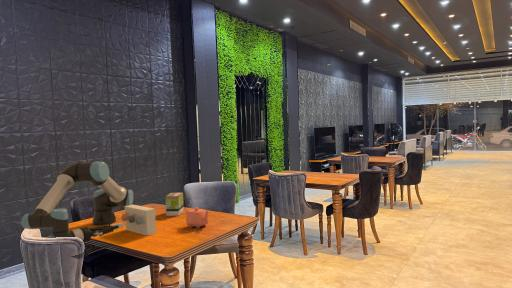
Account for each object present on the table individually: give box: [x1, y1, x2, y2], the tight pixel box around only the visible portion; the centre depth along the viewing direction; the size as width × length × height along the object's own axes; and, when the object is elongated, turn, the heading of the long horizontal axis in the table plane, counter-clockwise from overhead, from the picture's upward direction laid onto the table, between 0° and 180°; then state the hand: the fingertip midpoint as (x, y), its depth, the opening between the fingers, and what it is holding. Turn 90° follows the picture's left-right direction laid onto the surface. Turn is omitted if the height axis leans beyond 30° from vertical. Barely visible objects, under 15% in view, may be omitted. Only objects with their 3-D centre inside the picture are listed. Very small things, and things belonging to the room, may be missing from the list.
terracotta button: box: [120, 213, 128, 222], centre depth 224 cm, size 4×2×4 cm, turn 50°
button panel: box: [124, 204, 157, 237], centre depth 223 cm, size 24×6×15 cm, turn 50°
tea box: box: [165, 192, 185, 217], centre depth 268 cm, size 15×10×15 cm, turn 179°
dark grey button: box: [136, 217, 142, 225], centre depth 214 cm, size 4×2×4 cm, turn 50°
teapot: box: [185, 207, 210, 230], centre depth 229 cm, size 20×12×12 cm, turn 58°
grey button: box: [128, 215, 135, 223], centre depth 219 cm, size 4×2×4 cm, turn 50°
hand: (122, 225), depth 205 cm, fingers closed
